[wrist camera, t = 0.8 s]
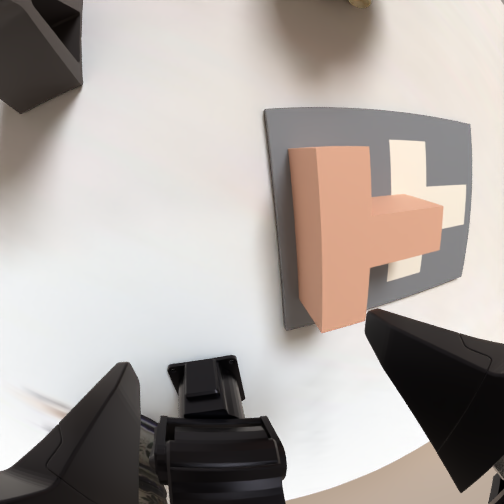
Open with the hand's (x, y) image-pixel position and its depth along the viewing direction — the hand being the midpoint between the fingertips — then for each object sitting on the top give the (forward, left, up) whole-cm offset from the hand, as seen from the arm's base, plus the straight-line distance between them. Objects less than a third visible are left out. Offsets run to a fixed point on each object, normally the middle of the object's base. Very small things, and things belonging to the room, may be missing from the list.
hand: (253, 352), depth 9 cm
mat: (0, -16, -13) cm, 20 cm away
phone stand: (+18, +12, -13) cm, 25 cm away
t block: (0, -11, -12) cm, 16 cm away
